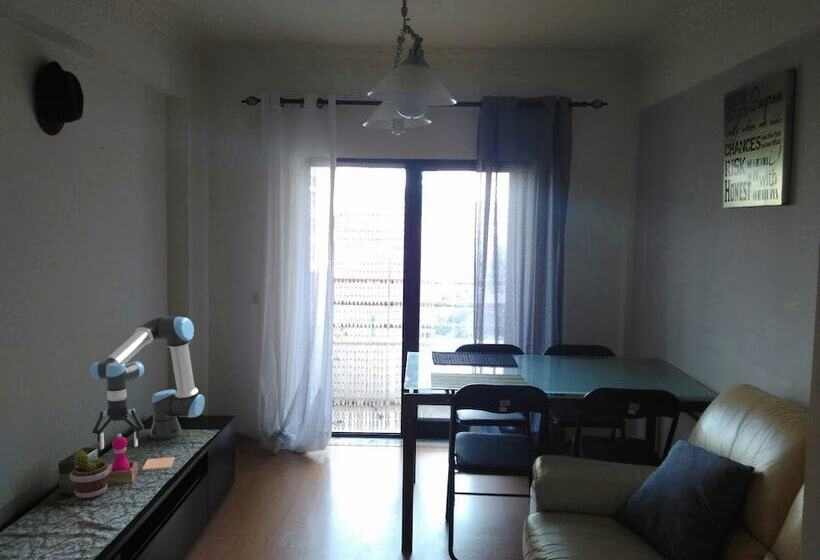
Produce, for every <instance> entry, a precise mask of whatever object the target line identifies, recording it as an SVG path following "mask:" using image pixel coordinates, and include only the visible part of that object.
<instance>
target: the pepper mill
mask: <svg viewBox="0 0 820 560" xmlns="http://www.w3.org/2000/svg"><path fill="white" fill-rule="evenodd" d="M111 446H112V448H113V453H114V460H113V463H112V464H113V466H112V472H115V471H127V470H130V465H129V462H130V461H128V459H127V457H126V451H127V446H128V440H127V438H126V437H124V436H122V433H118V434H117V435H116V437H115V438H113V440H112V441H111Z"/></svg>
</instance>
